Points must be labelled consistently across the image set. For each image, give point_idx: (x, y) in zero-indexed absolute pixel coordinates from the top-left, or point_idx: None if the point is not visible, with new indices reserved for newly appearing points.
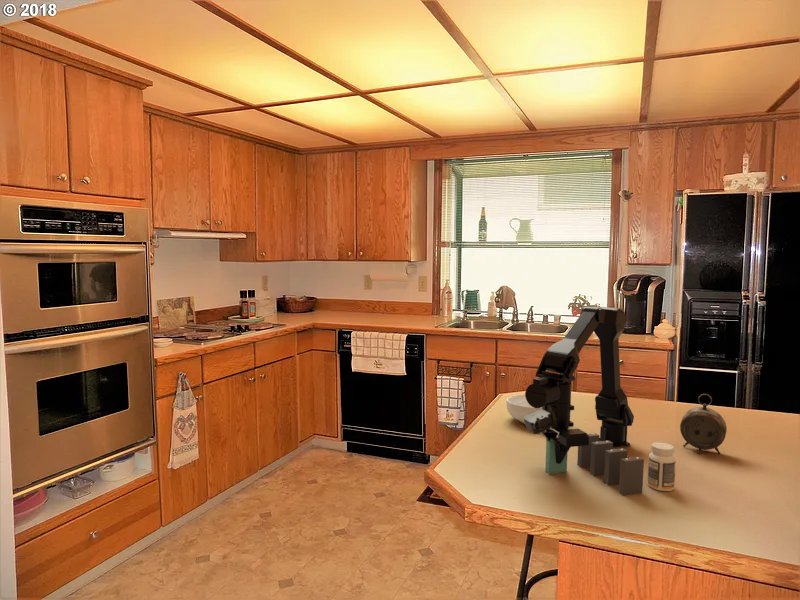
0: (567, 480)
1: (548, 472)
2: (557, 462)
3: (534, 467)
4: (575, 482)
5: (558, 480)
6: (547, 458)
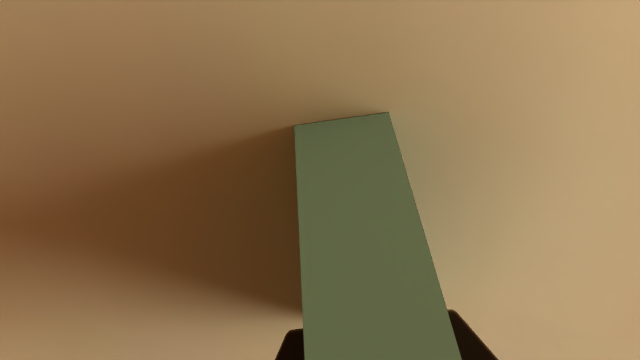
0: (83, 260)
1: (303, 134)
2: (282, 345)
3: (573, 6)
4: (34, 311)
5: (69, 170)
6: (366, 273)
